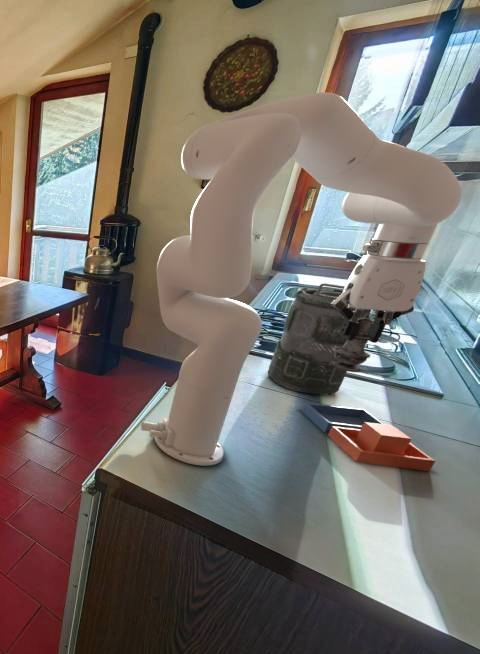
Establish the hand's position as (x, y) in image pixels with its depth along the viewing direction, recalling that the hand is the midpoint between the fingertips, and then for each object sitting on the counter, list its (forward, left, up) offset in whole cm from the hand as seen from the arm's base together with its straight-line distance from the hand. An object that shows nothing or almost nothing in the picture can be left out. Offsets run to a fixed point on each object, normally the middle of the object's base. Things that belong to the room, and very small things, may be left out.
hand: (357, 338), depth 82 cm
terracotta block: (+5, -10, -21) cm, 23 cm away
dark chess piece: (0, 0, -7) cm, 7 cm away
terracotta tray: (+5, -10, -21) cm, 24 cm away
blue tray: (+5, +1, -21) cm, 22 cm away
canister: (+7, +23, -21) cm, 32 cm away
